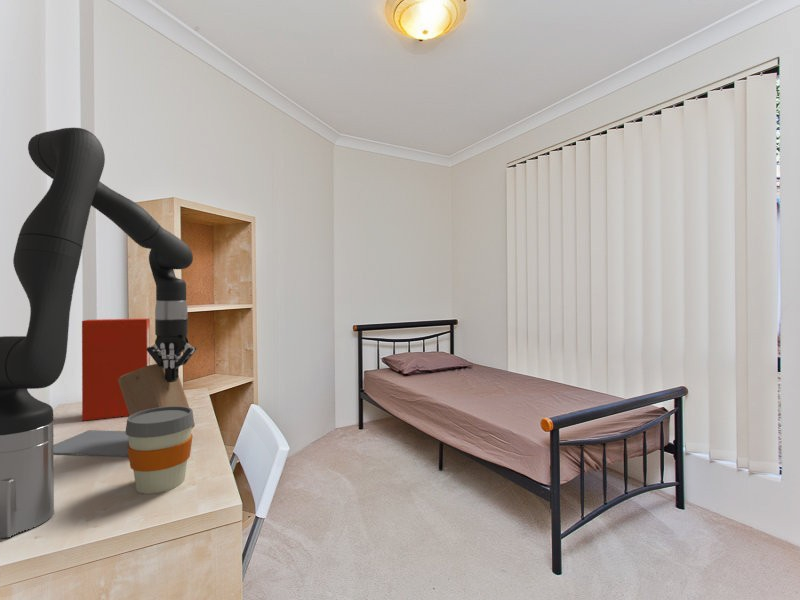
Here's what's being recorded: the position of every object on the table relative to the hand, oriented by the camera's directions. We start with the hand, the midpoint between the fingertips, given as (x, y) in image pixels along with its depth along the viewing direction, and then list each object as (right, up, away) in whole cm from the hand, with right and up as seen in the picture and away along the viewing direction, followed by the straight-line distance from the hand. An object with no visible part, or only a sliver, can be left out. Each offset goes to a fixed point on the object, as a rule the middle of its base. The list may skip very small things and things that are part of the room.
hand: (172, 381), depth 105 cm
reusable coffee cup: (+10, -18, -21) cm, 29 cm away
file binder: (-33, -17, +26) cm, 45 cm away
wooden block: (-1, -16, 0) cm, 16 cm away
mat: (-19, -17, +1) cm, 25 cm away
